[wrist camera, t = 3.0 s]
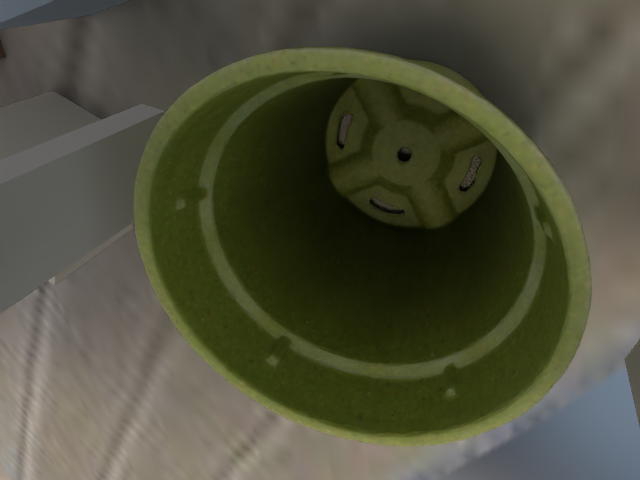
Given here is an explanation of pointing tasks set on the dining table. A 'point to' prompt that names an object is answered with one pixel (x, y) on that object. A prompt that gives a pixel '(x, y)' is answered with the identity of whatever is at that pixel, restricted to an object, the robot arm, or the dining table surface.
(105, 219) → the robot arm
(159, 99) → the dining table surface
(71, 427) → the dining table surface
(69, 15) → the slate blue block
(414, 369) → the plant pot
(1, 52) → the walnut block
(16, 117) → the cream block
